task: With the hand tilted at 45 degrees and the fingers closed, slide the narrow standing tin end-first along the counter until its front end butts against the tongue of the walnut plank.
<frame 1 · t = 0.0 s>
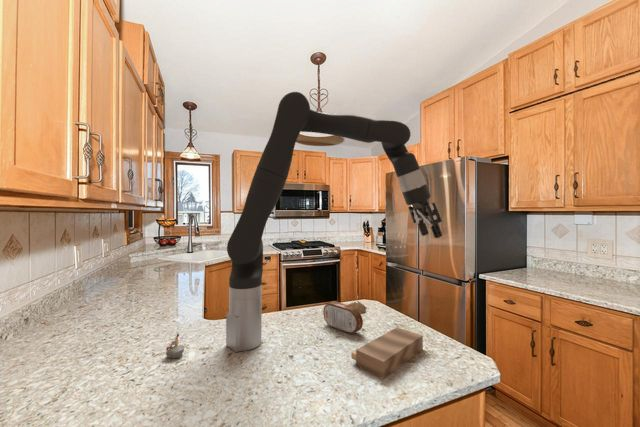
hand: (431, 235, 86), 31 cm above the countertop, tool tilted 20°, fingers open, 8 cm apart
tin: (341, 330, 92), on the countertop
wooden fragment: (351, 312, 109), on the countertop
walnut plank: (391, 357, 74), on the countertop
figurine: (175, 356, 74), on the countertop
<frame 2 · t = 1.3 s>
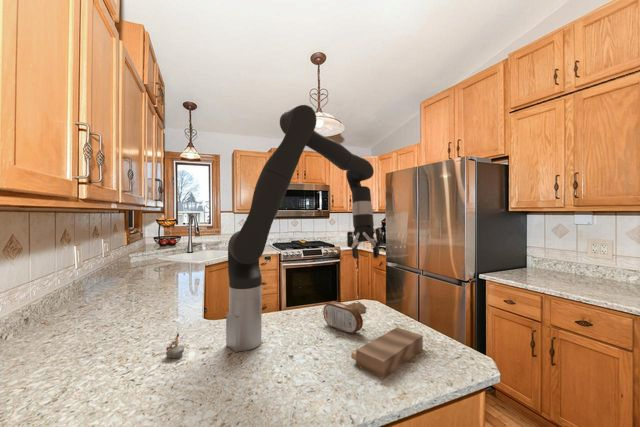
hand: (365, 258, 101), 22 cm above the countertop, tool pointing down, fingers open, 8 cm apart
nothing on the countertop moved.
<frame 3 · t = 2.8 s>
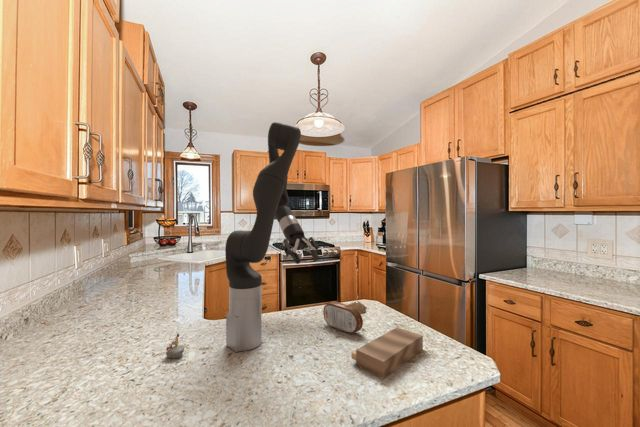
hand: (308, 261, 104), 20 cm above the countertop, tool tilted 45°, fingers open, 8 cm apart
nothing on the countertop moved.
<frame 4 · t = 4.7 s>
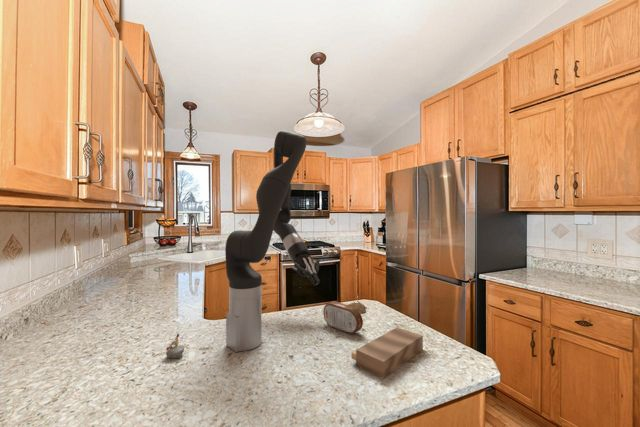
hand: (317, 284, 100), 13 cm above the countertop, tool tilted 45°, fingers closed
nothing on the countertop moved.
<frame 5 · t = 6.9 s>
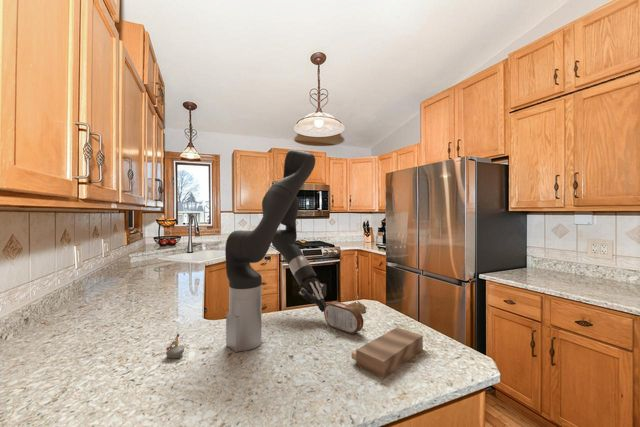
hand: (325, 310, 97), 4 cm above the countertop, tool tilted 45°, fingers closed
tin: (342, 330, 92), on the countertop, touching gripper
everything else where it was.
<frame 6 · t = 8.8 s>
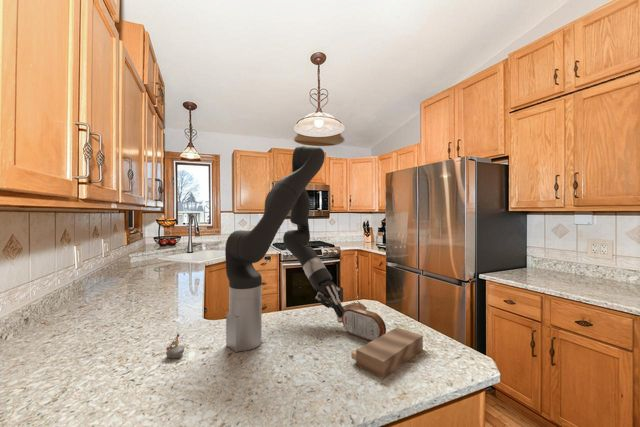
hand: (343, 316, 92), 4 cm above the countertop, tool tilted 45°, fingers closed
tin: (362, 337, 86), on the countertop, touching gripper, walnut plank
everything else where it was.
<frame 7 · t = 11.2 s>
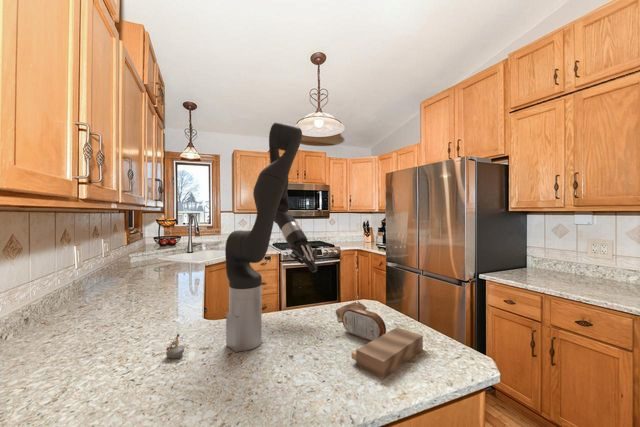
hand: (315, 270, 101), 17 cm above the countertop, tool tilted 45°, fingers closed
tin: (362, 337, 86), on the countertop
everything else where it was.
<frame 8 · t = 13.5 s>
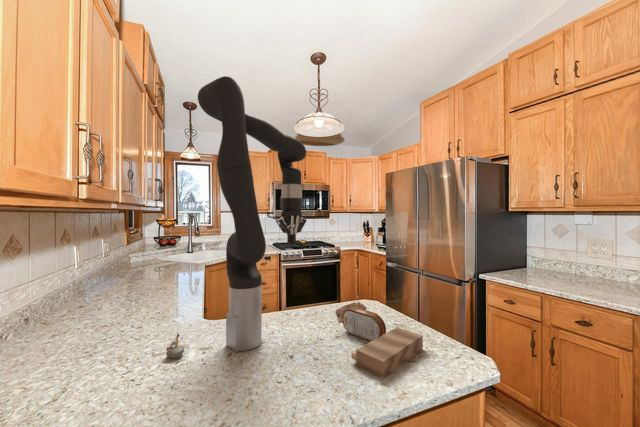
hand: (291, 244, 101), 27 cm above the countertop, tool pointing down, fingers closed
nothing on the countertop moved.
at the end: tin 0.4 cm from the target spot, on the countertop; tin tilted 0°; tin moved 8.2 cm from its start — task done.
